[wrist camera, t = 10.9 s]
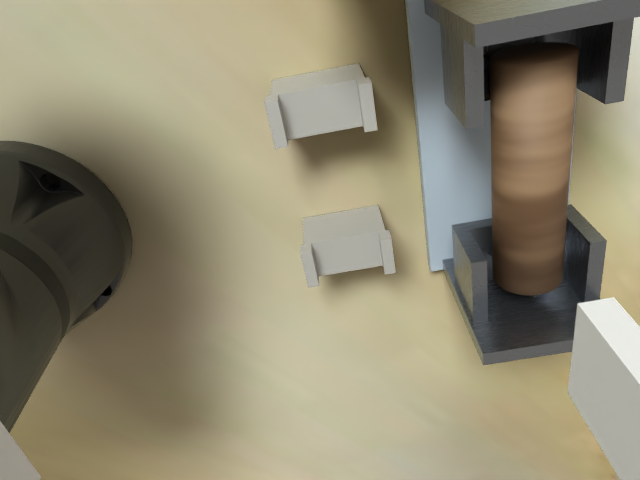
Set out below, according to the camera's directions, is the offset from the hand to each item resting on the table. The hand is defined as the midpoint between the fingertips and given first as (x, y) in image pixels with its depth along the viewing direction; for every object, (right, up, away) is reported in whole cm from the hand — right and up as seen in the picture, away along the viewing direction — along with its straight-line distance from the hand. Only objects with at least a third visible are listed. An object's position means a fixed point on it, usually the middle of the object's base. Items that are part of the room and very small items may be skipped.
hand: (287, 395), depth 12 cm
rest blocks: (+2, +9, +27) cm, 29 cm away
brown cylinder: (+14, +9, +22) cm, 28 cm away
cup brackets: (+13, +11, +27) cm, 32 cm away
